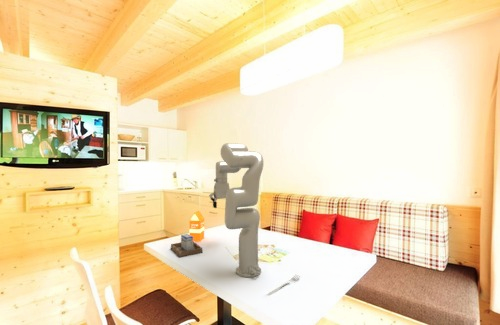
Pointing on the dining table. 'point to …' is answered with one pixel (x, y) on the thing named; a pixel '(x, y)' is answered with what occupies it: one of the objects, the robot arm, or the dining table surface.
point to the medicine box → (186, 242)
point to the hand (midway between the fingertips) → (221, 207)
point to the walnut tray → (183, 253)
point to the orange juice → (197, 227)
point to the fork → (283, 285)
